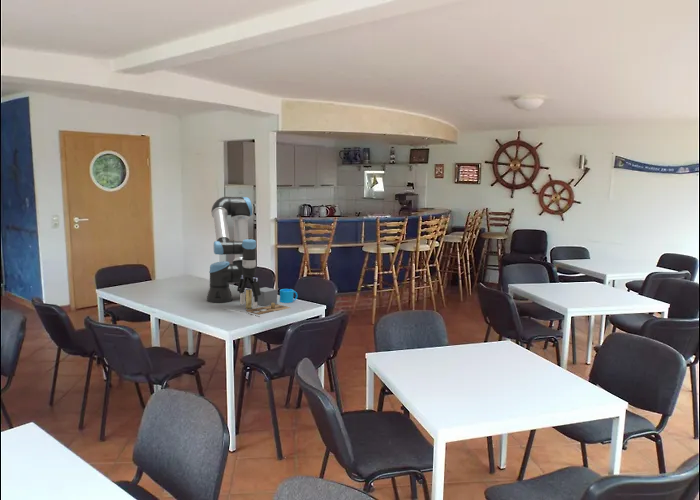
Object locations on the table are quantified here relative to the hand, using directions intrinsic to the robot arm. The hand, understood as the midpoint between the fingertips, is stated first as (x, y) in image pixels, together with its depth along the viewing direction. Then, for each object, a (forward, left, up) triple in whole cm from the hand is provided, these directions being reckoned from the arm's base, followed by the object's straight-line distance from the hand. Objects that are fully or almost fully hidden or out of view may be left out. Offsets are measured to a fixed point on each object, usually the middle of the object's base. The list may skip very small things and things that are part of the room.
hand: (248, 305), depth 297 cm
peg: (0, 0, -3) cm, 3 cm away
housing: (-3, +15, -3) cm, 16 cm away
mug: (+2, +30, -3) cm, 30 cm away
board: (+9, +13, -3) cm, 16 cm away
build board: (+9, +1, -3) cm, 9 cm away
